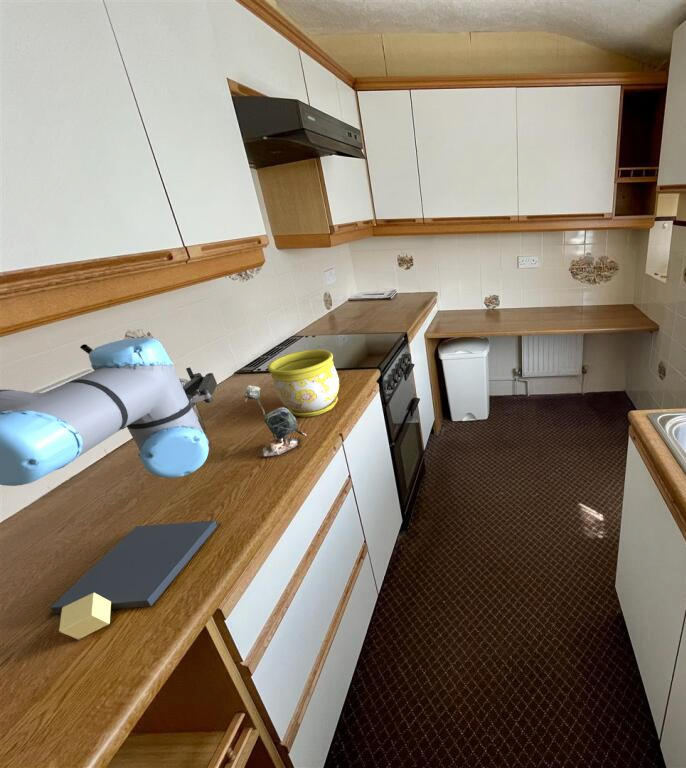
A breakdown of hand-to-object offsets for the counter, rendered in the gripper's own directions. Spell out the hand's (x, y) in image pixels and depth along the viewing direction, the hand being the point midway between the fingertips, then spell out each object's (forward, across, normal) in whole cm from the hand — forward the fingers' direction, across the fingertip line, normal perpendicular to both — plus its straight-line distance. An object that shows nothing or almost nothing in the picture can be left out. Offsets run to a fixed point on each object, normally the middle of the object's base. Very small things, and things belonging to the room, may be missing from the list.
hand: (158, 382), depth 82 cm
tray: (-17, -13, -28) cm, 35 cm away
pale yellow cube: (-26, -19, -27) cm, 42 cm away
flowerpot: (+24, +32, -28) cm, 49 cm away
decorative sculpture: (+6, +18, -28) cm, 34 cm away
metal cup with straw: (-2, 0, -16) cm, 17 cm away
